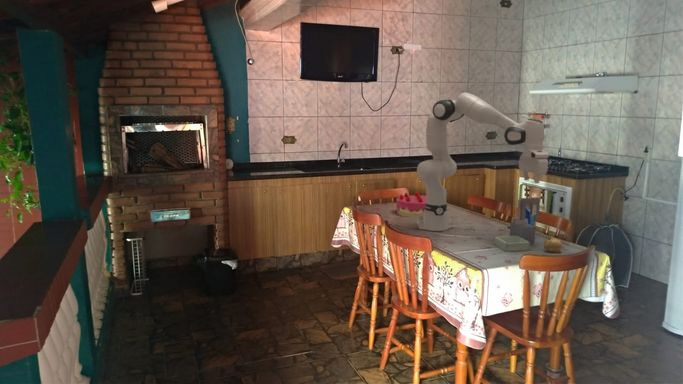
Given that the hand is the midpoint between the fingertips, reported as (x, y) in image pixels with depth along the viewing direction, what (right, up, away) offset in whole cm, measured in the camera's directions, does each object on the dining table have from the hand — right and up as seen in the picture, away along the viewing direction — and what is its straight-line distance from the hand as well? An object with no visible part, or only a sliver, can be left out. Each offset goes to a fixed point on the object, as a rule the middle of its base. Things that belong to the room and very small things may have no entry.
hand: (531, 181), depth 246 cm
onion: (+8, -33, -5) cm, 35 cm away
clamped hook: (0, -23, +7) cm, 24 cm away
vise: (-1, -30, +11) cm, 32 cm away
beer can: (+5, -29, +23) cm, 37 cm away
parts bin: (-9, -32, +1) cm, 33 cm away
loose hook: (0, -18, +3) cm, 19 cm away
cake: (-43, -19, +79) cm, 92 cm away
